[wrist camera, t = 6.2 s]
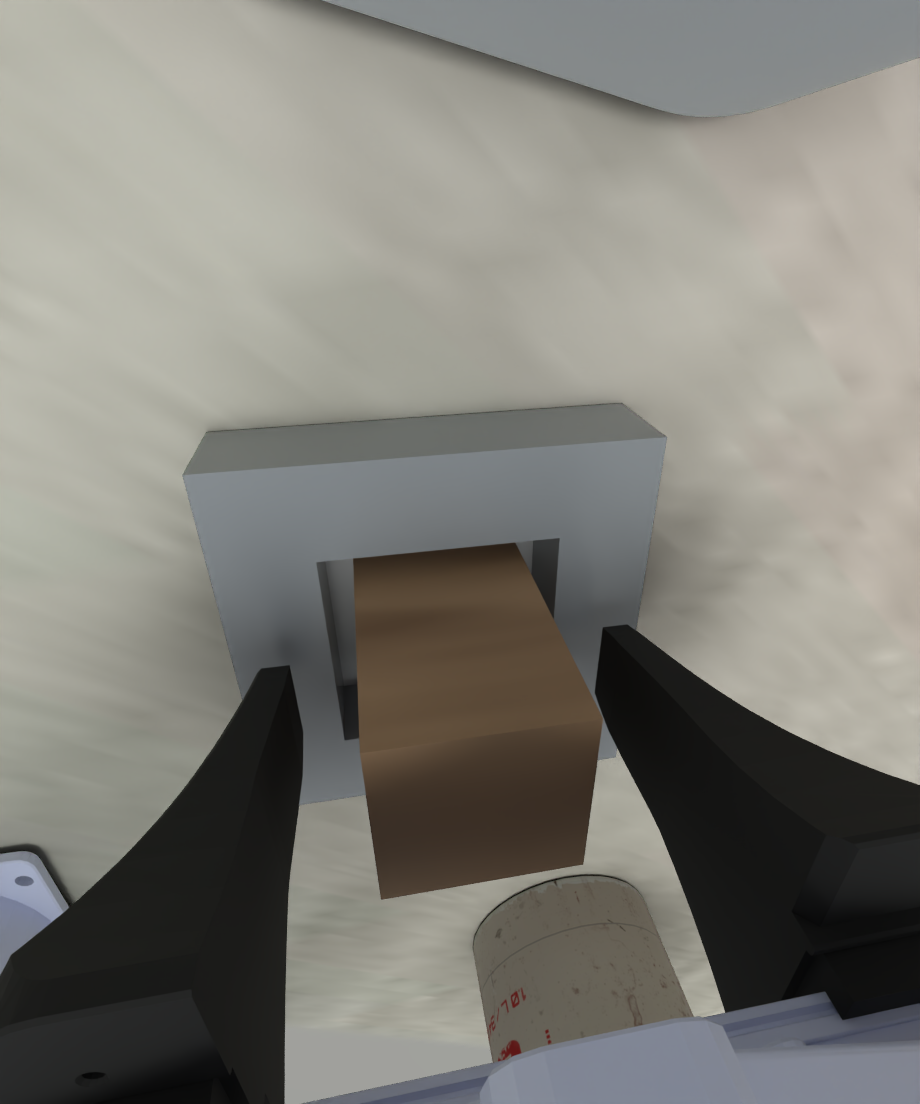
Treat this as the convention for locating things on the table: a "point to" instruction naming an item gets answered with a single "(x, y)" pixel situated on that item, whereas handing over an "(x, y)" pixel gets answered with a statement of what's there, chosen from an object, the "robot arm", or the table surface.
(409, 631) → the wooden rectangular block
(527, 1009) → the thermos bottle
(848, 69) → the plastic bottle
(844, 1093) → the robot arm
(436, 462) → the grey flat square frame
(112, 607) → the table surface
